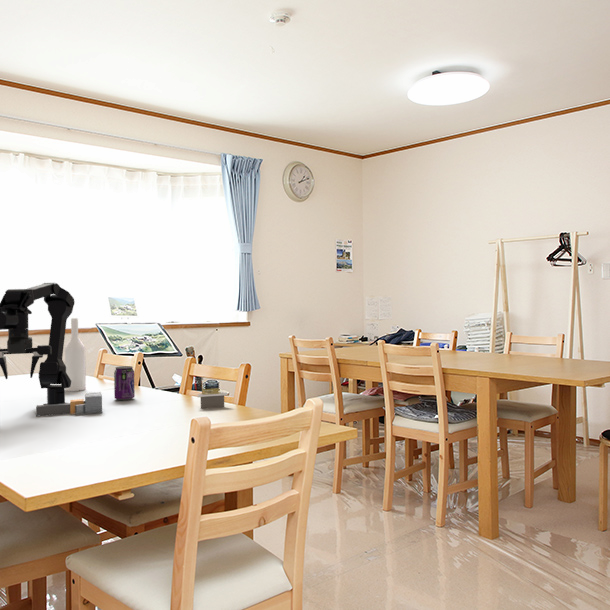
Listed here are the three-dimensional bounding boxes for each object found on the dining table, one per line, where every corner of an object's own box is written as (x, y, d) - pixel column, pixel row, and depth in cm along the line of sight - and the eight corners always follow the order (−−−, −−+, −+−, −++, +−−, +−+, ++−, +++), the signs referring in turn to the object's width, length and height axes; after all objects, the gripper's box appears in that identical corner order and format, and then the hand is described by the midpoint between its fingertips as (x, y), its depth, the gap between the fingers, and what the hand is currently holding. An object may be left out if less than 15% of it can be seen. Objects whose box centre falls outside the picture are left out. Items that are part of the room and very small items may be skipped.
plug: (36, 416, 183) (36, 403, 183) (37, 414, 186) (36, 402, 186) (83, 413, 188) (83, 400, 188) (83, 411, 191) (83, 399, 191)
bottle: (63, 391, 239) (62, 318, 239) (67, 388, 246) (66, 318, 247) (84, 390, 240) (83, 318, 240) (87, 388, 248) (86, 318, 248)
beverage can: (128, 401, 211) (128, 368, 211) (110, 400, 212) (110, 368, 212) (138, 398, 218) (137, 366, 218) (120, 397, 219) (120, 366, 219)
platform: (182, 407, 197) (182, 388, 197) (234, 404, 203) (233, 385, 203) (187, 413, 186) (187, 393, 186) (242, 409, 192) (242, 389, 192)
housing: (75, 415, 184) (74, 397, 184) (75, 410, 193) (75, 393, 193) (102, 413, 187) (101, 395, 187) (101, 408, 196) (100, 391, 196)
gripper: (-20, 330, 172) (-19, 383, 172) (49, 328, 179) (50, 379, 179) (-14, 329, 182) (-14, 379, 182) (51, 327, 189) (51, 375, 189)
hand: (19, 378), depth 183 cm, fingers open, 7 cm apart
